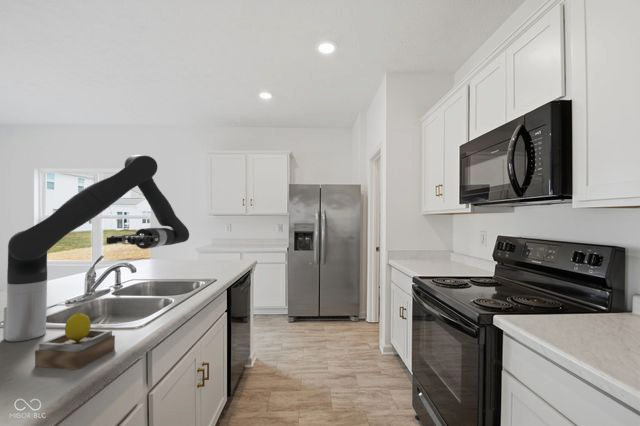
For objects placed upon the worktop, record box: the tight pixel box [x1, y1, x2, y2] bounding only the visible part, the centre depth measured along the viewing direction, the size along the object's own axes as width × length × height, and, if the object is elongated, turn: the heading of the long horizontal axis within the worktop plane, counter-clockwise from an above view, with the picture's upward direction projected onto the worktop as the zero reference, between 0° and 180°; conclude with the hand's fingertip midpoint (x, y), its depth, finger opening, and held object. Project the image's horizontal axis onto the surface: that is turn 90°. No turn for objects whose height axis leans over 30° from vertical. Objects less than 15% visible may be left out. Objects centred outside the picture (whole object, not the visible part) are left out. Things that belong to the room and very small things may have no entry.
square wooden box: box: [34, 328, 116, 370], centre depth 85 cm, size 12×12×6 cm
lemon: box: [64, 311, 92, 342], centre depth 85 cm, size 6×6×8 cm
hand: (119, 241), depth 103 cm, fingers open, 8 cm apart
